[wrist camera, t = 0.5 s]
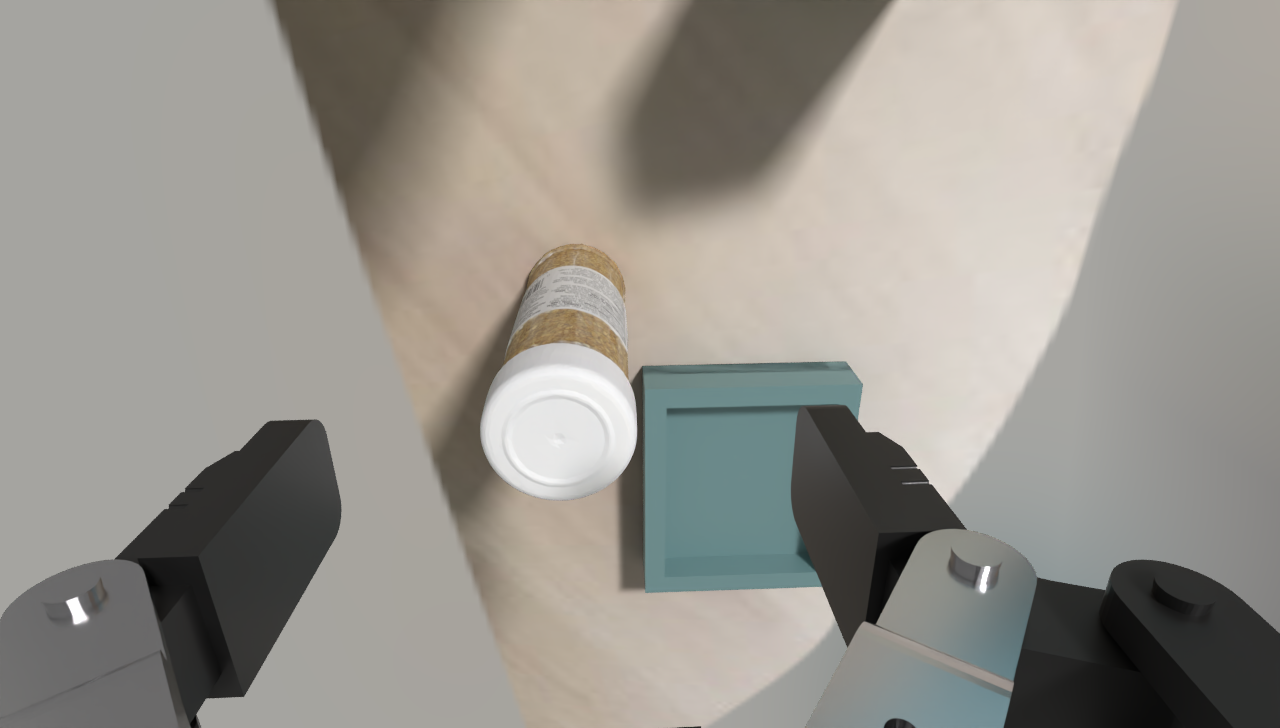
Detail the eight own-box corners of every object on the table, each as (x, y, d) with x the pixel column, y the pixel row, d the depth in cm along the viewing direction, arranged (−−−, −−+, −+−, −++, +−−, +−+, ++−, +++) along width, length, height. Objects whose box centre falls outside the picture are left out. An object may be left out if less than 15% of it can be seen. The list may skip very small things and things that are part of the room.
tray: (642, 366, 34) (645, 389, 31) (845, 361, 34) (862, 384, 32) (643, 560, 39) (645, 592, 36) (820, 554, 39) (833, 586, 37)
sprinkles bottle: (578, 352, 33) (561, 532, 21) (506, 288, 32) (442, 443, 20) (647, 288, 32) (671, 439, 20) (575, 218, 31) (553, 336, 18)
